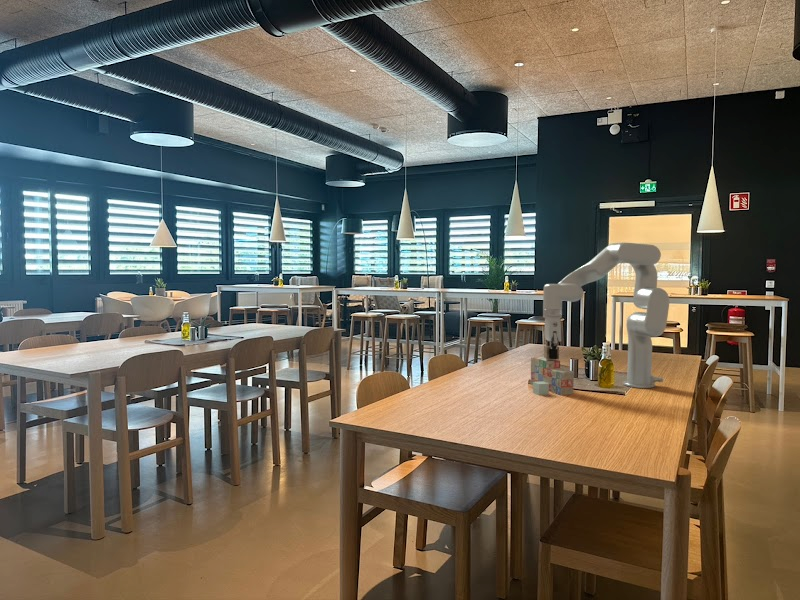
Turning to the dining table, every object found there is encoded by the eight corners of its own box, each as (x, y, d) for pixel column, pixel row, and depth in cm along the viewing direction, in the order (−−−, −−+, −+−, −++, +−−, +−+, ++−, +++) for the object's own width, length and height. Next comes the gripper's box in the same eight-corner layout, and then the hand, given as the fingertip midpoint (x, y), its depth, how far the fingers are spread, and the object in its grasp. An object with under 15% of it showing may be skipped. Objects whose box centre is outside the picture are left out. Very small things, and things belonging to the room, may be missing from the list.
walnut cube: (555, 357, 236) (556, 345, 236) (558, 359, 231) (559, 347, 231) (543, 357, 236) (544, 345, 236) (546, 359, 231) (546, 347, 231)
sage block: (542, 392, 228) (542, 381, 228) (548, 394, 224) (548, 383, 224) (532, 393, 227) (532, 381, 227) (538, 395, 223) (539, 384, 222)
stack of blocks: (573, 394, 225) (574, 363, 224) (560, 395, 223) (561, 364, 222) (542, 384, 245) (543, 356, 244) (530, 385, 243) (530, 356, 242)
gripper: (567, 315, 224) (565, 361, 225) (556, 312, 241) (555, 354, 242) (547, 315, 224) (546, 360, 225) (538, 312, 241) (537, 354, 242)
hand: (551, 357), depth 234 cm, fingers closed on walnut cube, 4 cm apart
